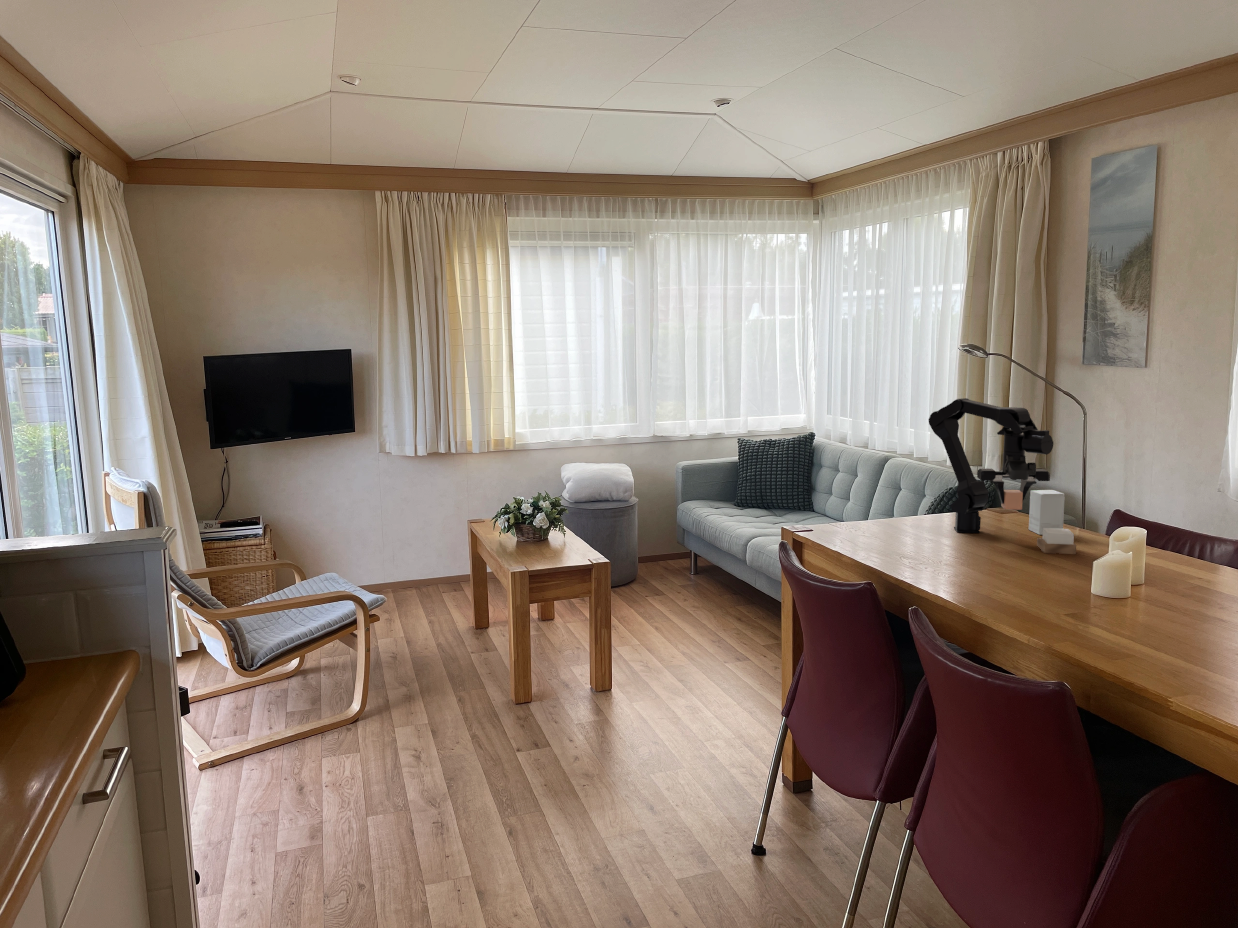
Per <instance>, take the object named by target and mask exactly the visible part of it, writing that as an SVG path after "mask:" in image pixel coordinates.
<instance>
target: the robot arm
mask: <svg viewBox="0 0 1238 928" xmlns="http://www.w3.org/2000/svg"><path fill="white" fill-rule="evenodd" d="M966 414H969V415H973V416H976V417H981V418H983V419H989V420H991V421H994V422H995V423H996V424H998V425H999V426H1001V427H1002V428H1001V429H1000V430H999V431H997V432H996V433H997V435H998V436H999V435H1000V436H1003V452H1002V467H1001V471H996V470H995V469H993V468H979V469H978V470H977V473H976V474H977V477H975V476H974V473H973V471H972V468H971V465H970V463H969V460H968V458H967V455H966V452H965V450H964V447H963V444H962V442H961V440H960V439H961V438H960V437H959V428H960V425H959V423H960V422H959V421H960V420H961V419H962V418H963V417H964V416H965V415H966ZM928 425H929V426H930V428H931V430H932V432H933V433H934V434H935V435H936V436H937V437H938V438H939V440H941V441H942V445H943V447H944V449H945V451H946V454H947V457H948V460H949V462H950V465H951V468H952V470H953V472H954V475H955V479H956V481H957V490H956V494H957V499H956V500H954V501H953V502H952V503H951V505H950V508H951V512H952V513H955V519H954V520H955V522H954V526H953V529H954V530H955V532H957V533H967V534H970V533H971V534H973V533H975V534H980V530H981V520H982V519H981V516H980V512H983V511H984V507H985V505H986V504H987V503H988V500H989V494H990V491H989V490H988V489H987V486H986V482H985V481H988V482H991V483H992V484H994V486H995V489H996V490H997V493H998V496H999V500H1000V504H1001V503H1002V504H1004V490H1005V489H1004V486H1005V481H1004V480H1003V478H1006V479H1010V480H1012V481H1017V480H1020V488H1019V490H1020V491H1021V492H1022V493H1023V499H1022V504H1023V503H1024V501H1025V498H1026V496H1027V494H1028V491H1029V489H1030V488H1031V487H1032V486H1033V485H1036V484H1037V483H1038V482H1050V481H1051V473H1050V472H1049V471H1048V470H1046V469H1045V468H1037V464H1036V462H1027V461H1026V459H1027V458H1026V453H1029V454H1038V455H1046V456H1047V455H1049V454H1050V453H1051V452H1052V451H1053V448H1054V440H1053V437H1052V436H1051V434H1050V430H1049V429H1048V430H1047V429H1043V430H1039V429H1038V427H1037V426H1036V424H1035V422H1034V421H1033V419H1032V417H1031V414H1030V412H1029V409H1027V408H1025V407H1016V406H1015V407H1014V406H1012V407H1009V406H1008V407H1006V406H1004V407H1003V406H1002V407H1001V406H998V405H994V404H989V403H984V402H980V401H976V400H972V399H969V398H967V397H965V398H964V397H963V398H956V399H954V400H953V401H952V402H951V403H949V404H947V405H945V406H943V407H941V408H939V410H936V411H932V413H931V414H930V415H929V418H928ZM1036 480H1037V481H1036Z"/></svg>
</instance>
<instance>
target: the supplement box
mask: <svg viewBox="0 0 1238 928" xmlns="http://www.w3.org/2000/svg"><path fill="white" fill-rule="evenodd" d="M1065 495H1066V494H1065V493H1064V492H1060V491H1058V490H1055V489H1039V490H1037V489H1035V490H1032V489H1031V490H1030V494H1029V516H1028V531H1031V532H1033V533H1034V534H1037V535H1041V536H1043V528H1056V529H1064V517H1065V515H1064V513H1065V498H1066V497H1065Z"/></svg>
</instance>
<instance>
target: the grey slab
mask: <svg viewBox="0 0 1238 928" xmlns="http://www.w3.org/2000/svg"><path fill="white" fill-rule="evenodd" d="M1041 536H1042V537H1041V538H1042V539H1044V540H1045V541H1046V542H1047V543H1048V544H1071V545H1073V543H1074V541H1075V540H1074V537H1075V534H1074V533H1073V532H1072V531H1071V530H1070V529H1069V528H1063V529H1056V528H1043V535H1041Z"/></svg>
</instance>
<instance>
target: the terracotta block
mask: <svg viewBox="0 0 1238 928" xmlns="http://www.w3.org/2000/svg"><path fill="white" fill-rule="evenodd" d="M1022 499H1023V493H1022V492H1021V491H1020V489H1004V504H1002V503H1001V502H1000V504H1001V507H1002V508H1003V509H1004V510H1018V511H1019V510H1023V503H1022Z"/></svg>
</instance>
